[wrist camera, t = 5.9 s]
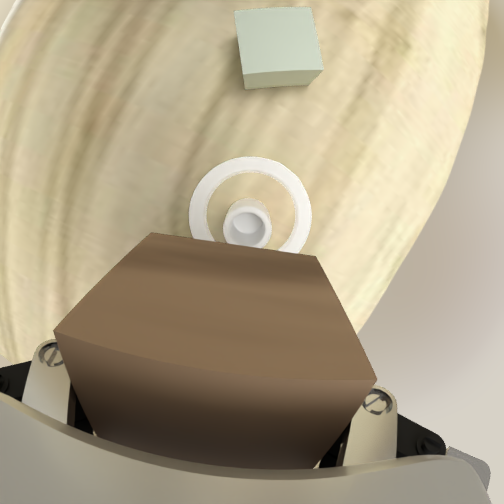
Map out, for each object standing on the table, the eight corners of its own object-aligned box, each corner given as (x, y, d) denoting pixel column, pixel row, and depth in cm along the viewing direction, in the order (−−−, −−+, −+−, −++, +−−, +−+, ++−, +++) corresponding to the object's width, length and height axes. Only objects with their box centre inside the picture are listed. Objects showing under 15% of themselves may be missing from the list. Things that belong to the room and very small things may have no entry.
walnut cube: (151, 232, 10) (53, 330, 4) (315, 256, 10) (377, 379, 4) (154, 355, 12) (113, 464, 6) (281, 374, 12) (293, 490, 6)
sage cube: (237, 36, 20) (233, 10, 15) (299, 32, 20) (310, 7, 14) (245, 90, 22) (242, 74, 17) (308, 85, 22) (323, 69, 17)
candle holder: (298, 145, 25) (306, 145, 21) (317, 259, 29) (327, 277, 25) (176, 173, 26) (163, 178, 22) (208, 281, 30) (202, 302, 26)
